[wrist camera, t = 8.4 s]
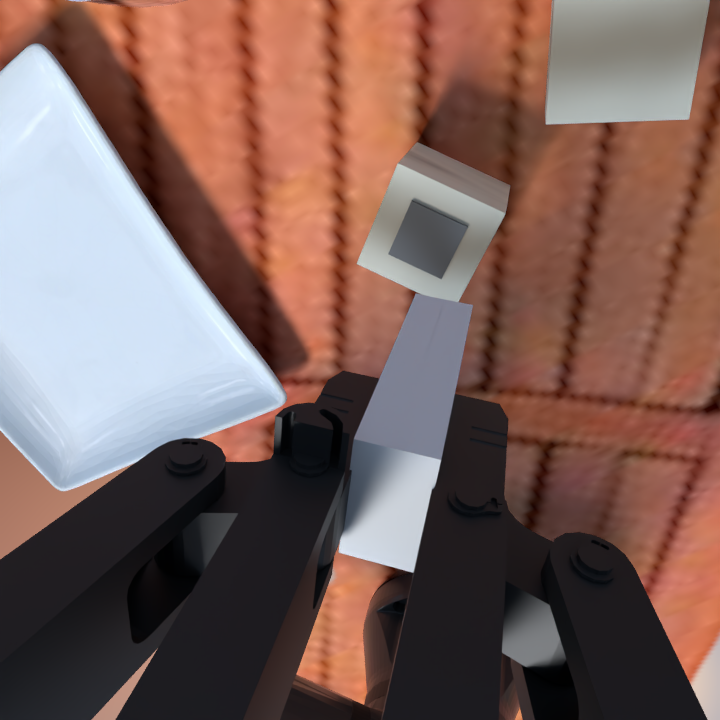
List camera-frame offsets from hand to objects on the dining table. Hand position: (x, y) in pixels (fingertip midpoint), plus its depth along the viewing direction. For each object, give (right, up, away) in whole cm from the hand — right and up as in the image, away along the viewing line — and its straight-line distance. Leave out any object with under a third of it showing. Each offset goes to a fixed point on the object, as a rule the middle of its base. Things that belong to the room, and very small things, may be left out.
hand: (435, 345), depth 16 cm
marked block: (+3, +9, +21) cm, 23 cm away
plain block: (+11, +16, +15) cm, 24 cm away
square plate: (-24, +4, +32) cm, 40 cm away
